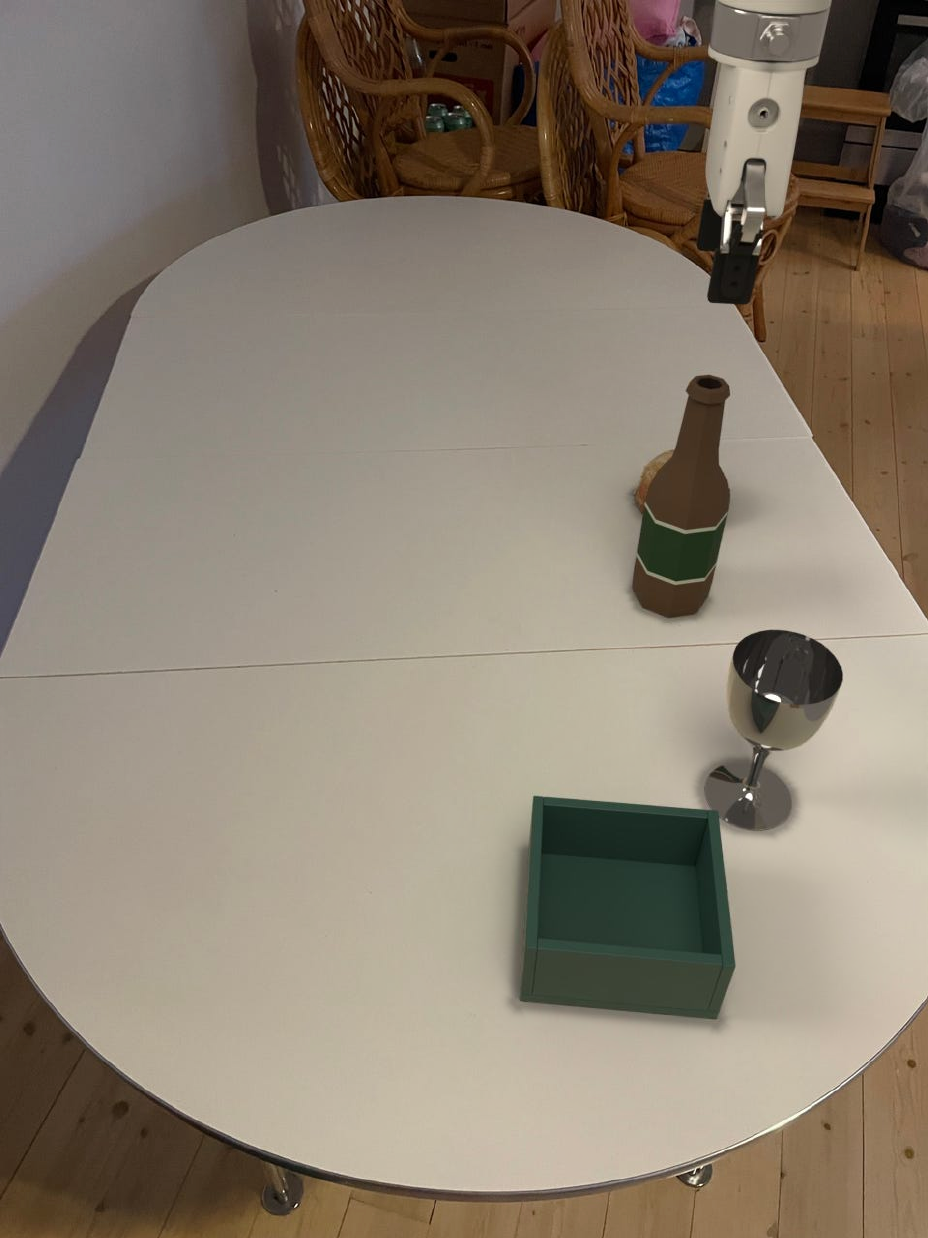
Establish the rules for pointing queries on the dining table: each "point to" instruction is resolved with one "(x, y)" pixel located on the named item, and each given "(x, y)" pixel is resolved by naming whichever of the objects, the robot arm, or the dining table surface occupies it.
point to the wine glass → (771, 720)
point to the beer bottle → (685, 510)
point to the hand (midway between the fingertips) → (721, 274)
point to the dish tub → (626, 908)
